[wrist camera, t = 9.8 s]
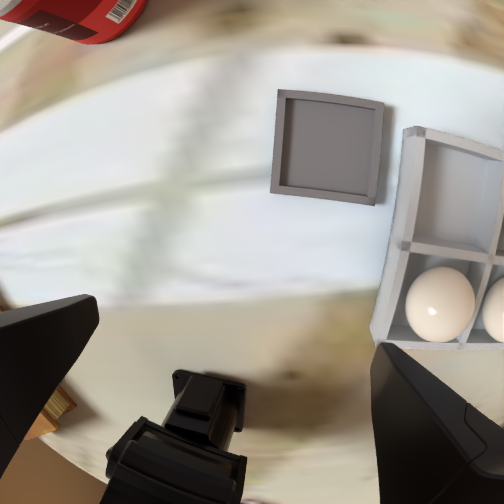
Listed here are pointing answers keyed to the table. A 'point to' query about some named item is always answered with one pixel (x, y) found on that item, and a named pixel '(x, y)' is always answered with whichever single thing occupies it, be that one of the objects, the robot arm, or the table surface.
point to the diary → (50, 413)
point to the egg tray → (442, 232)
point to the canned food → (75, 17)
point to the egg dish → (327, 146)
